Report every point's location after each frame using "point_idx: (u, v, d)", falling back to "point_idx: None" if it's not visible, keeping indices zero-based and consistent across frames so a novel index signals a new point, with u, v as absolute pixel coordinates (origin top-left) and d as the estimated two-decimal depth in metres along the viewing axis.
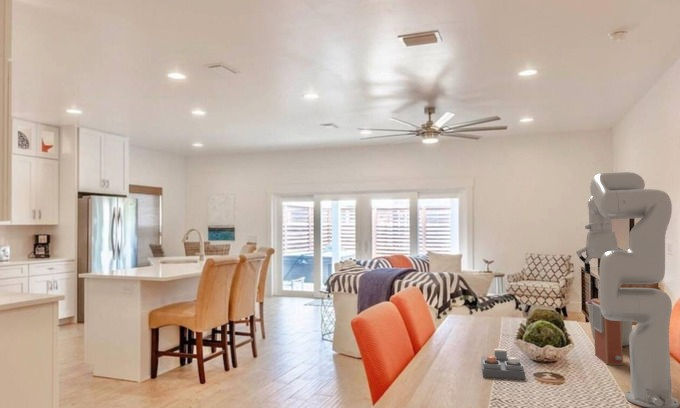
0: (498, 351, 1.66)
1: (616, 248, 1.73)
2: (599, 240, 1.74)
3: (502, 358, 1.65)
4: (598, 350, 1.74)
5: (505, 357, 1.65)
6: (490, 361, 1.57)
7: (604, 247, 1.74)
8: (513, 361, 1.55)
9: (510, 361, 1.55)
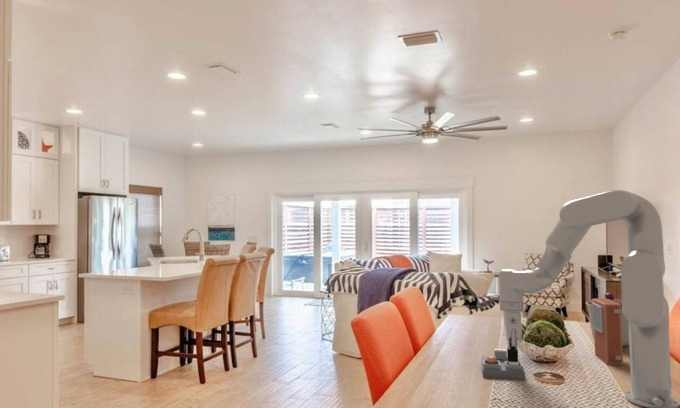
0: (498, 351, 1.66)
1: None
2: None
3: (502, 358, 1.65)
4: (598, 350, 1.74)
5: (505, 357, 1.65)
6: (490, 361, 1.57)
7: None
8: (513, 364, 1.55)
9: (510, 364, 1.55)
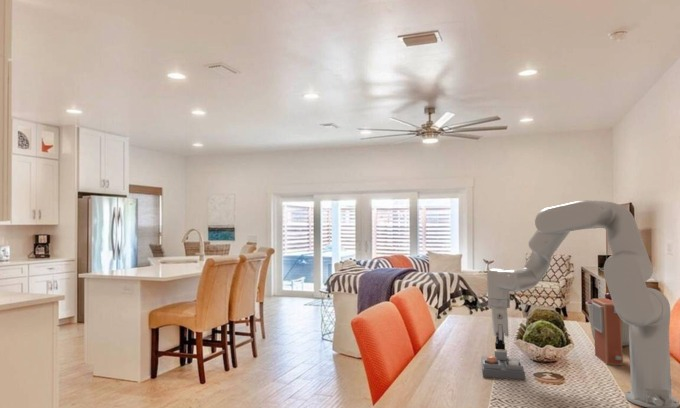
0: (498, 352, 1.65)
1: None
2: (507, 315, 1.67)
3: (502, 359, 1.64)
4: (598, 350, 1.74)
5: (505, 358, 1.64)
6: (490, 361, 1.57)
7: None
8: (513, 364, 1.55)
9: (510, 364, 1.55)
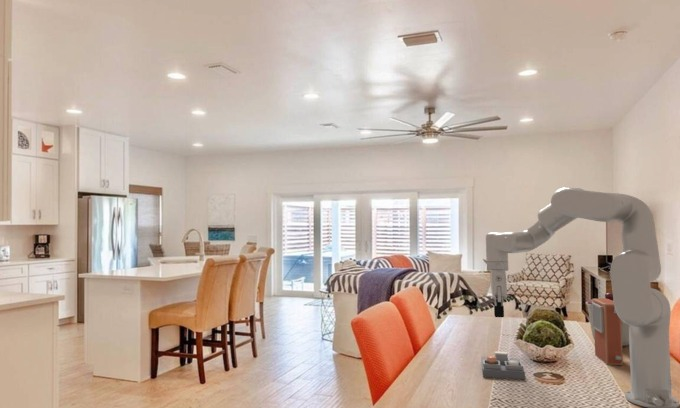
0: (499, 354, 1.62)
1: None
2: None
3: (503, 361, 1.61)
4: (598, 350, 1.74)
5: (506, 360, 1.61)
6: (490, 361, 1.57)
7: None
8: (513, 364, 1.55)
9: (510, 364, 1.55)
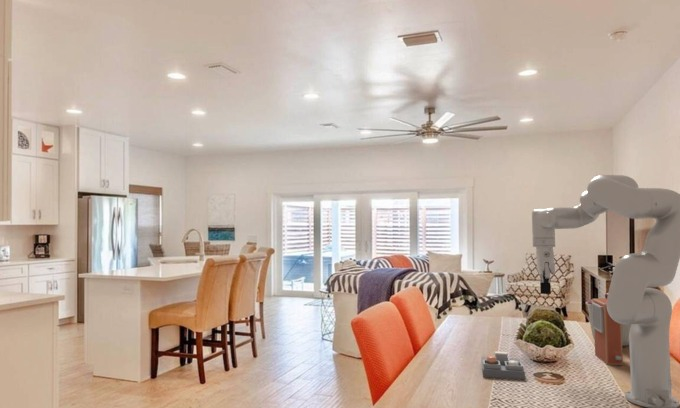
0: (499, 354, 1.62)
1: None
2: None
3: (503, 361, 1.61)
4: (598, 350, 1.74)
5: (506, 360, 1.61)
6: (490, 361, 1.57)
7: None
8: (513, 364, 1.55)
9: (510, 364, 1.55)
